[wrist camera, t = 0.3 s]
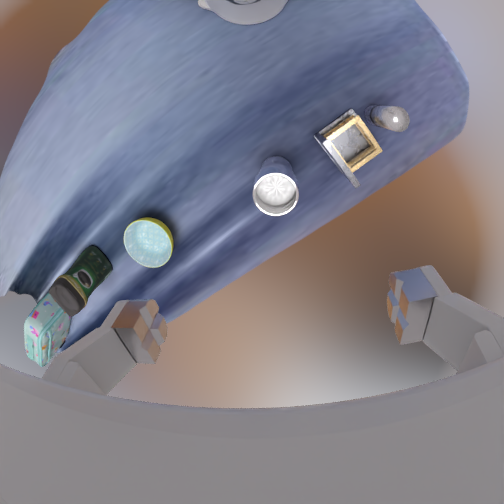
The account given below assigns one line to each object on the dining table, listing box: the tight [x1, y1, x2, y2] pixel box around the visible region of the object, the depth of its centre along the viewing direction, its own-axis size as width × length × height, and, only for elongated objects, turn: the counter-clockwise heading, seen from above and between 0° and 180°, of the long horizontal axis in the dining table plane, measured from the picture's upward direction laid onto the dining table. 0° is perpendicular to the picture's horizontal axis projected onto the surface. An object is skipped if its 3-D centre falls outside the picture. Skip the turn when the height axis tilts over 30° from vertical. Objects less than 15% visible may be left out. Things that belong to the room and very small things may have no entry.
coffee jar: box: [49, 246, 112, 317], centre depth 59 cm, size 10×8×19 cm
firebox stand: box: [314, 109, 382, 188], centre depth 43 cm, size 9×9×11 cm
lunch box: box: [24, 293, 71, 367], centre depth 72 cm, size 27×10×21 cm, turn 147°
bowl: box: [124, 218, 173, 267], centre depth 59 cm, size 11×12×6 cm
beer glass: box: [253, 156, 299, 216], centre depth 46 cm, size 7×7×15 cm
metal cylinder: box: [364, 105, 409, 132], centre depth 39 cm, size 4×4×12 cm
